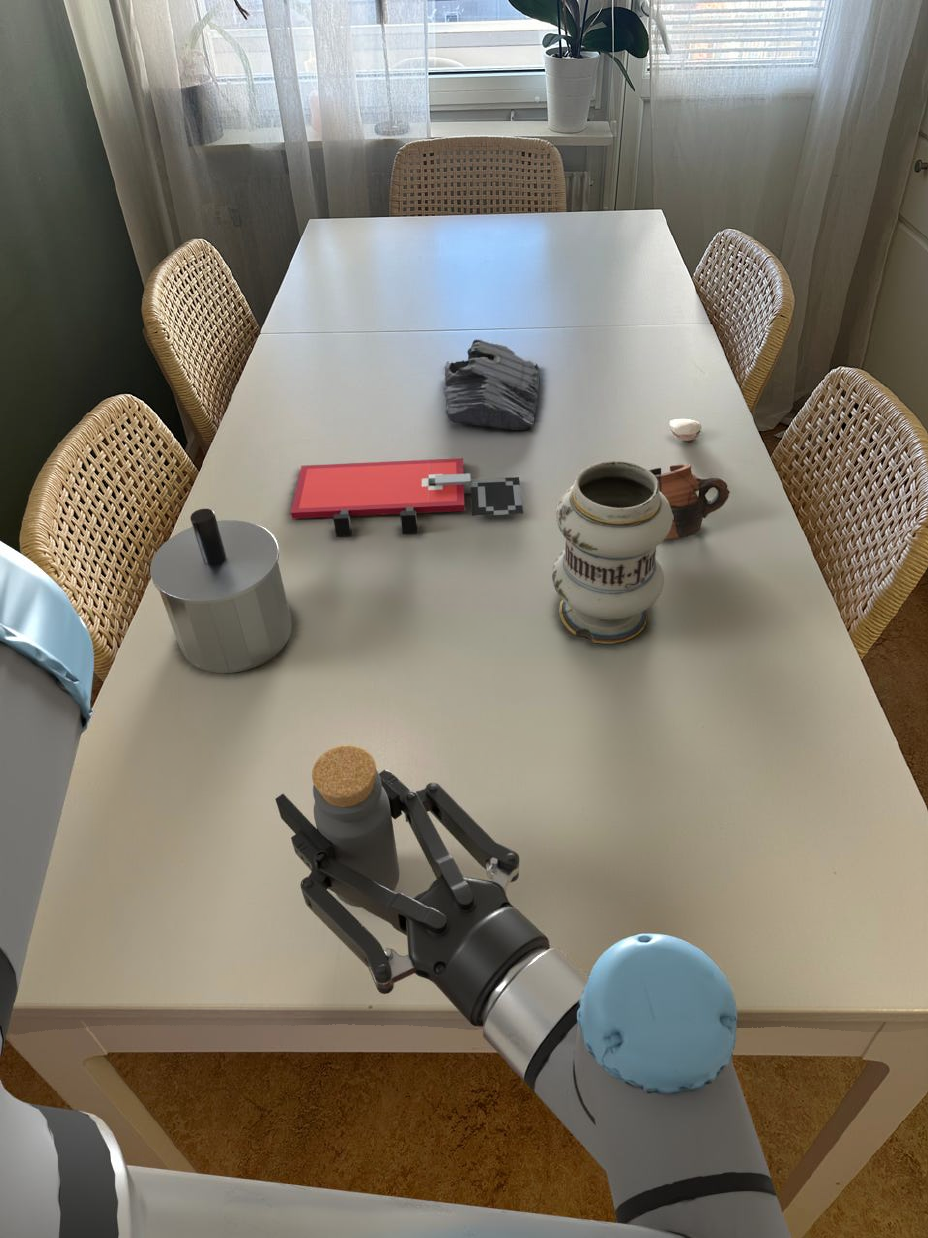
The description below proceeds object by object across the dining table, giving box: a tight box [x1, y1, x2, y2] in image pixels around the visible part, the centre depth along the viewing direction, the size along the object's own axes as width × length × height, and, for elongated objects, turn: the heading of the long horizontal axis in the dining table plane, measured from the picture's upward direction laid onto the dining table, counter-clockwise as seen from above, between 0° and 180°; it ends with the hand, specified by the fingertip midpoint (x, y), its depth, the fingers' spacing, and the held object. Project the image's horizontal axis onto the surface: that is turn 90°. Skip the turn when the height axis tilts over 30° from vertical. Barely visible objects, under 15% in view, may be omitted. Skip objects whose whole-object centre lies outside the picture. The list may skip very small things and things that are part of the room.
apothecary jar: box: [551, 460, 673, 645], centre depth 92 cm, size 12×12×18 cm
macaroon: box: [669, 418, 702, 442], centre depth 124 cm, size 4×5×2 cm
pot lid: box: [149, 508, 280, 604], centre depth 89 cm, size 13×13×7 cm
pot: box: [159, 562, 293, 674], centre depth 94 cm, size 12×12×10 cm
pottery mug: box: [648, 463, 731, 541], centre depth 110 cm, size 12×10×8 cm
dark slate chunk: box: [444, 339, 540, 431], centre depth 133 cm, size 15×22×5 cm
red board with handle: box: [290, 457, 524, 538], centre depth 115 cm, size 30×3×15 cm
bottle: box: [311, 744, 400, 909], centre depth 69 cm, size 6×6×15 cm
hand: (315, 782), depth 71 cm, fingers closed on bottle, 6 cm apart
